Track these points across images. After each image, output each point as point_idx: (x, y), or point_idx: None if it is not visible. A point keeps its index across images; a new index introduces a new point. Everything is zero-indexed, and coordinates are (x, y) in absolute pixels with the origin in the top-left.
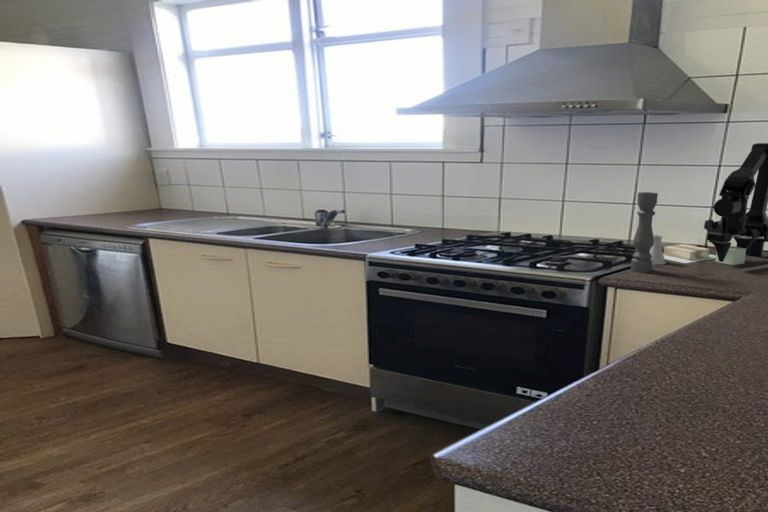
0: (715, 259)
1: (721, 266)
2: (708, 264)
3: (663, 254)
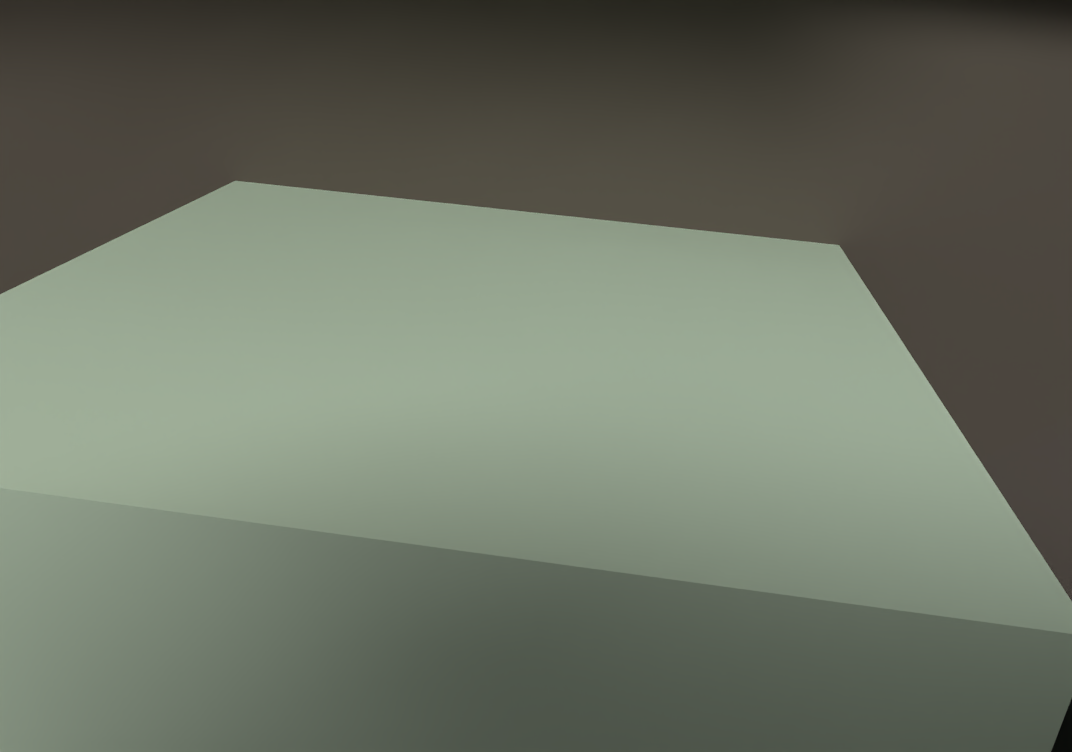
0: (151, 226)
1: None
2: (49, 65)
3: None
